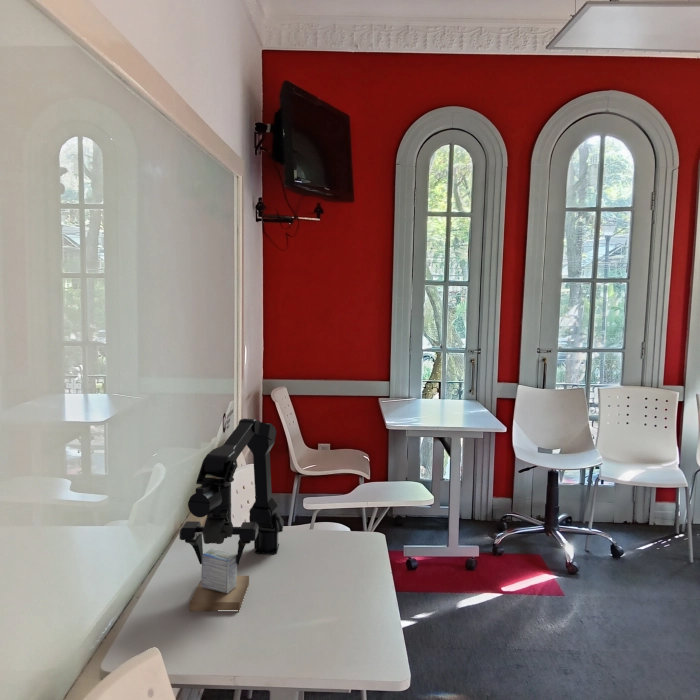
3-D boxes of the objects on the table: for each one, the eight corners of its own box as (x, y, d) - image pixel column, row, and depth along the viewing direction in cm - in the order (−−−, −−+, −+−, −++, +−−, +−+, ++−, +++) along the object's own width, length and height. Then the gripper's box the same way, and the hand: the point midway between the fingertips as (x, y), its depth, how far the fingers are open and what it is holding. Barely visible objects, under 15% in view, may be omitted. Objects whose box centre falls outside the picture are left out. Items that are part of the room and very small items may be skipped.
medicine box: (236, 587, 153) (238, 554, 152) (227, 594, 149) (228, 560, 148) (210, 580, 156) (211, 547, 155) (200, 587, 151) (201, 554, 151)
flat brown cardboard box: (249, 586, 159) (249, 575, 159) (239, 614, 145) (239, 602, 145) (203, 586, 159) (203, 575, 159) (189, 613, 145) (189, 601, 145)
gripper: (172, 514, 142) (173, 578, 143) (251, 515, 142) (251, 579, 143) (185, 498, 153) (185, 558, 154) (258, 499, 153) (258, 559, 155)
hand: (219, 563), depth 151 cm, fingers open, 9 cm apart
